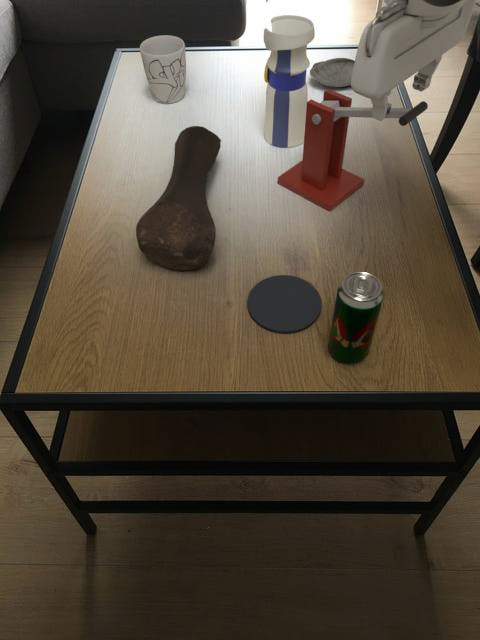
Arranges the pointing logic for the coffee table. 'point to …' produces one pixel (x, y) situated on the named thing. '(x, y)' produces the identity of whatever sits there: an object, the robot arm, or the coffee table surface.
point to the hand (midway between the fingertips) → (400, 102)
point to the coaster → (284, 304)
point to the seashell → (333, 72)
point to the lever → (401, 113)
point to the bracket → (323, 157)
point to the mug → (165, 67)
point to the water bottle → (287, 79)
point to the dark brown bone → (183, 207)
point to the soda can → (355, 317)
